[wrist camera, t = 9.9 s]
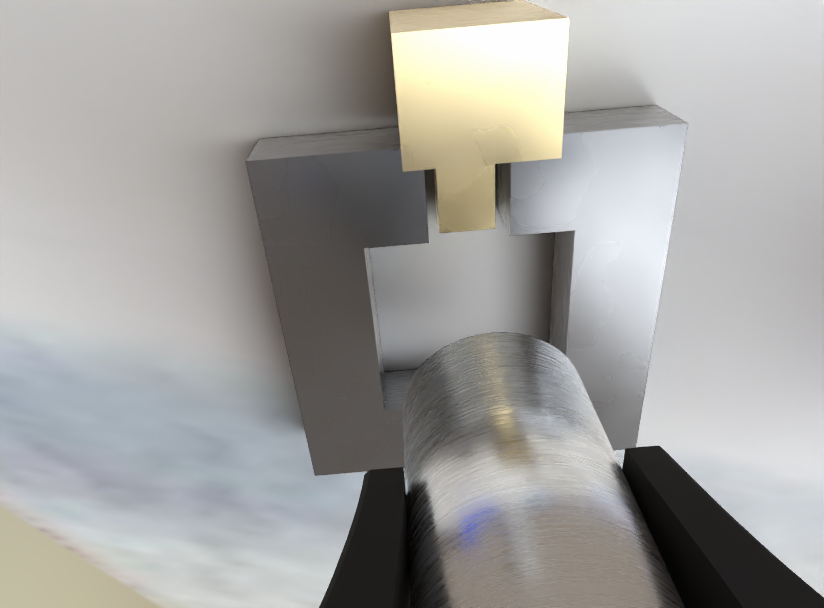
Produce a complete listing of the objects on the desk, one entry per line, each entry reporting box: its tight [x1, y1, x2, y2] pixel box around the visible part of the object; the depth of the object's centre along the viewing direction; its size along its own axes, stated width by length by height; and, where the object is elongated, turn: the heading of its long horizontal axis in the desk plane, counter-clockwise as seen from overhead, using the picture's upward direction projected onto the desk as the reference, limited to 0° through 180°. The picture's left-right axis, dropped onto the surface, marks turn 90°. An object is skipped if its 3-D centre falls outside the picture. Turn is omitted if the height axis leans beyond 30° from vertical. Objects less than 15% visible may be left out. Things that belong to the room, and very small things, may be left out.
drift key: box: [389, 0, 569, 233], centre depth 13 cm, size 3×5×4 cm, turn 4°
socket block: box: [245, 105, 688, 476], centre depth 17 cm, size 10×10×2 cm
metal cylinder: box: [402, 332, 685, 608], centre depth 10 cm, size 4×4×7 cm
